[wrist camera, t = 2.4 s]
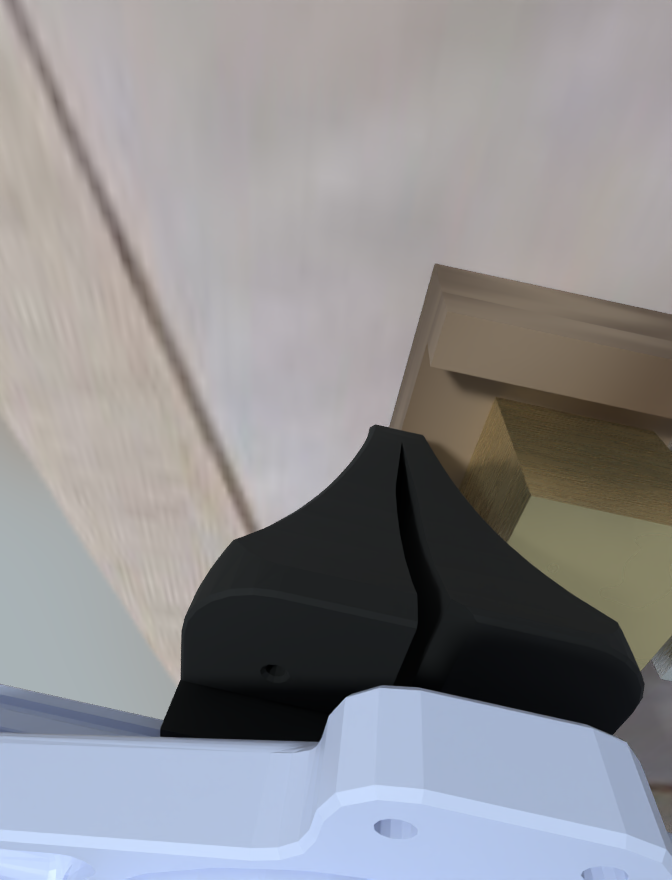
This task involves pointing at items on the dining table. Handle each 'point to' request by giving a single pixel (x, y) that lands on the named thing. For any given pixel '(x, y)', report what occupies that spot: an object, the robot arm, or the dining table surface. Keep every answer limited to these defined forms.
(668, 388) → the slot block
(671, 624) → the yellow cube
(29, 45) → the dining table surface
